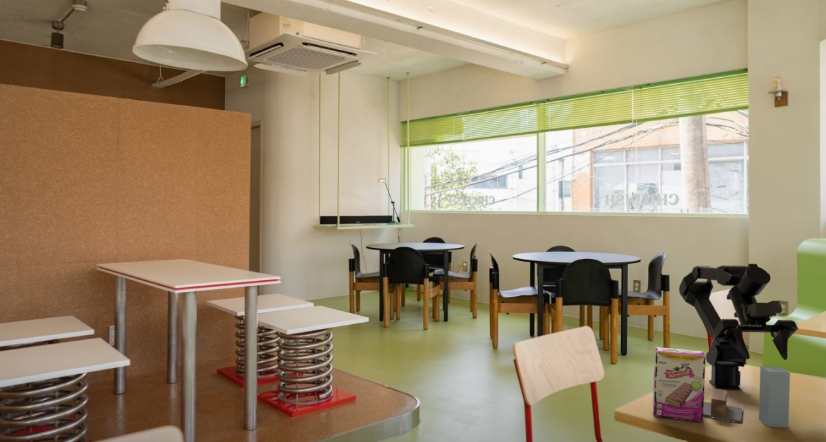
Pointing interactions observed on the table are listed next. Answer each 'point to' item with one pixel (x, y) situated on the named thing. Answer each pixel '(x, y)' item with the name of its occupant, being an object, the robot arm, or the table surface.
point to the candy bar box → (679, 384)
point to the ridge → (719, 402)
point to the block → (774, 396)
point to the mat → (730, 413)
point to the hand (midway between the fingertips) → (767, 358)
